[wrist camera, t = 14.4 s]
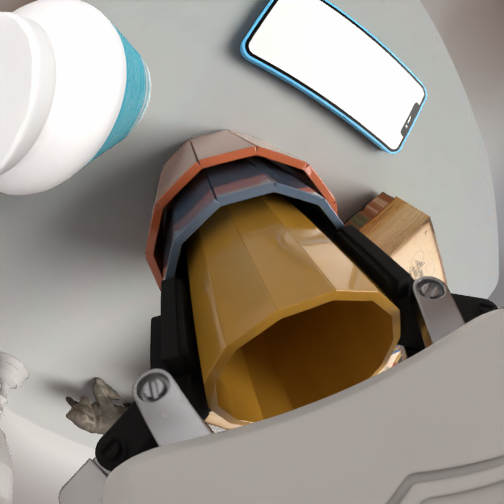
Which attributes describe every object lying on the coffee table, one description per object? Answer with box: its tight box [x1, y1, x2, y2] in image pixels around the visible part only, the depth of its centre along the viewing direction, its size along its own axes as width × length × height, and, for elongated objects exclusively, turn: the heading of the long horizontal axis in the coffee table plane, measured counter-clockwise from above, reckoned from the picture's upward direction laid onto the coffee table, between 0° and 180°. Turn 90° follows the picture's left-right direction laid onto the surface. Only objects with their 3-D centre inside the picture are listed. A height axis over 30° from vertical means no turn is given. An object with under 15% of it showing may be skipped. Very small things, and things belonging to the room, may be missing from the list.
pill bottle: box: [0, 0, 151, 195], centre depth 9 cm, size 8×7×14 cm
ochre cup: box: [185, 192, 401, 426], centre depth 13 cm, size 6×6×12 cm
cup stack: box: [145, 130, 345, 300], centre depth 16 cm, size 9×9×11 cm
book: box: [205, 192, 448, 430], centre depth 29 cm, size 25×6×28 cm
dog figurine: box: [66, 379, 131, 434], centre depth 25 cm, size 12×6×7 cm, turn 65°
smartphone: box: [240, 0, 427, 154], centre depth 17 cm, size 8×1×15 cm
